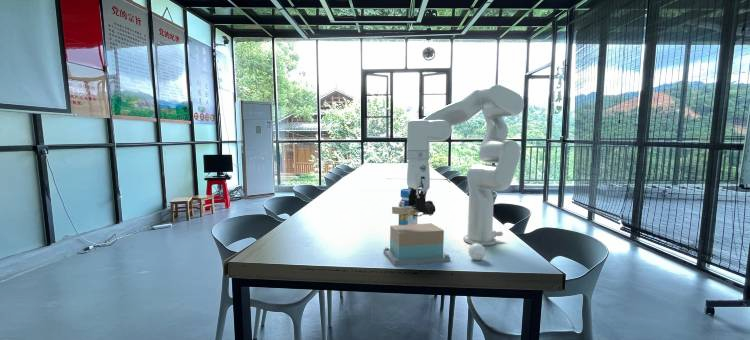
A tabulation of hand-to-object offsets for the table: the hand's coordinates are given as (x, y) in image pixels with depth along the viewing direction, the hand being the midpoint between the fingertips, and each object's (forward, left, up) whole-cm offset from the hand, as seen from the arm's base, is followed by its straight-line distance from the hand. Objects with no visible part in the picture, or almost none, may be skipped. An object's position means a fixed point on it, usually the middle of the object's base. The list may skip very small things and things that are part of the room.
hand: (416, 207), depth 112 cm
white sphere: (-20, +8, -18) cm, 28 cm away
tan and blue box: (0, 0, -18) cm, 18 cm away
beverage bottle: (-6, -25, -18) cm, 31 cm away
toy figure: (+1, -1, -3) cm, 3 cm away
